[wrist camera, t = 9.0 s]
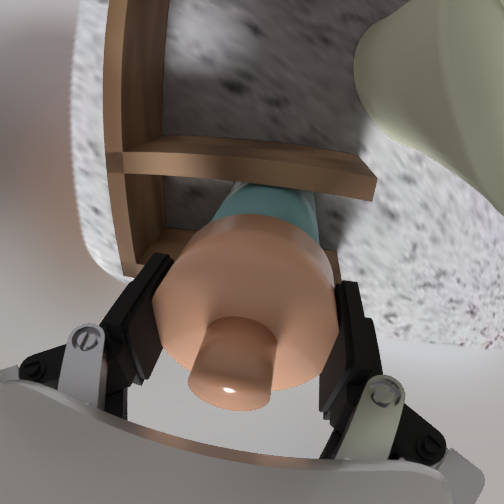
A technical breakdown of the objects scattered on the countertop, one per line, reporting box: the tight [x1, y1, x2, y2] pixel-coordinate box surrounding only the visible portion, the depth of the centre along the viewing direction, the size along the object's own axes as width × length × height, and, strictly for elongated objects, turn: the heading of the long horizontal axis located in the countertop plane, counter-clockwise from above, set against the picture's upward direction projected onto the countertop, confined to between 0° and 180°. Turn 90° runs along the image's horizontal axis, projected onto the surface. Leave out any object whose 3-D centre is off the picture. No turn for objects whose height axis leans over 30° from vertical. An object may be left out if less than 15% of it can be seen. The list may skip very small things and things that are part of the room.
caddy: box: [103, 0, 378, 288], centre depth 14 cm, size 14×22×5 cm, turn 176°
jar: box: [210, 181, 320, 246], centre depth 16 cm, size 6×6×8 cm
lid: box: [152, 214, 339, 411], centre depth 10 cm, size 6×6×5 cm
